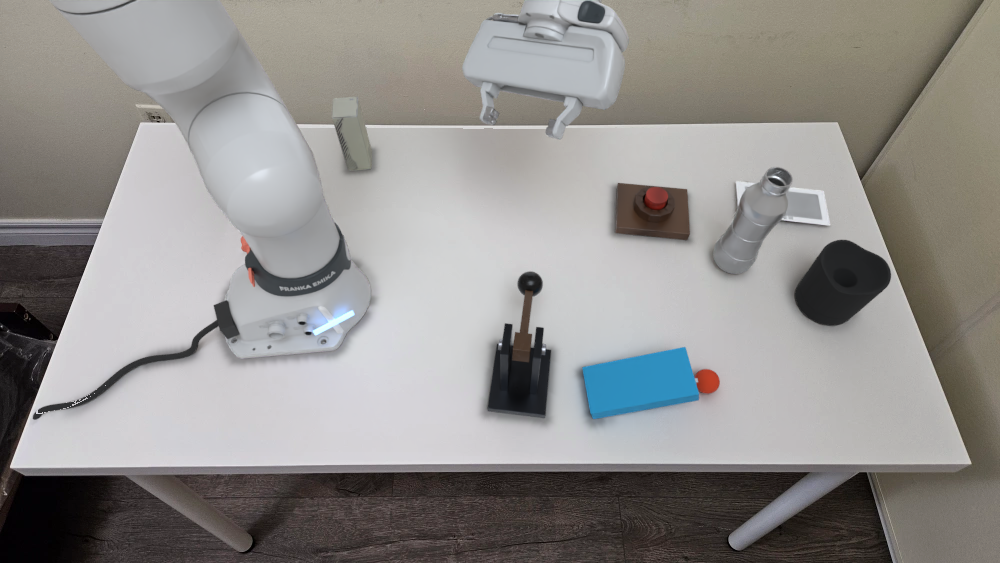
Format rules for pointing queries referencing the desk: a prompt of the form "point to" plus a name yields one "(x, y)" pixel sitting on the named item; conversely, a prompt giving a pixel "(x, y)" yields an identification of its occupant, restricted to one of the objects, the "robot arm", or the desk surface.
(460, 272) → the desk surface
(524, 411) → the bracket
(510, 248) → the desk surface
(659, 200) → the button
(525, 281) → the lever
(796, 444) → the desk surface
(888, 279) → the pen holder
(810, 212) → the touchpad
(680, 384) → the blue block with knob
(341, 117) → the box
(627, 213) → the button block
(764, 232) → the plastic bottle
